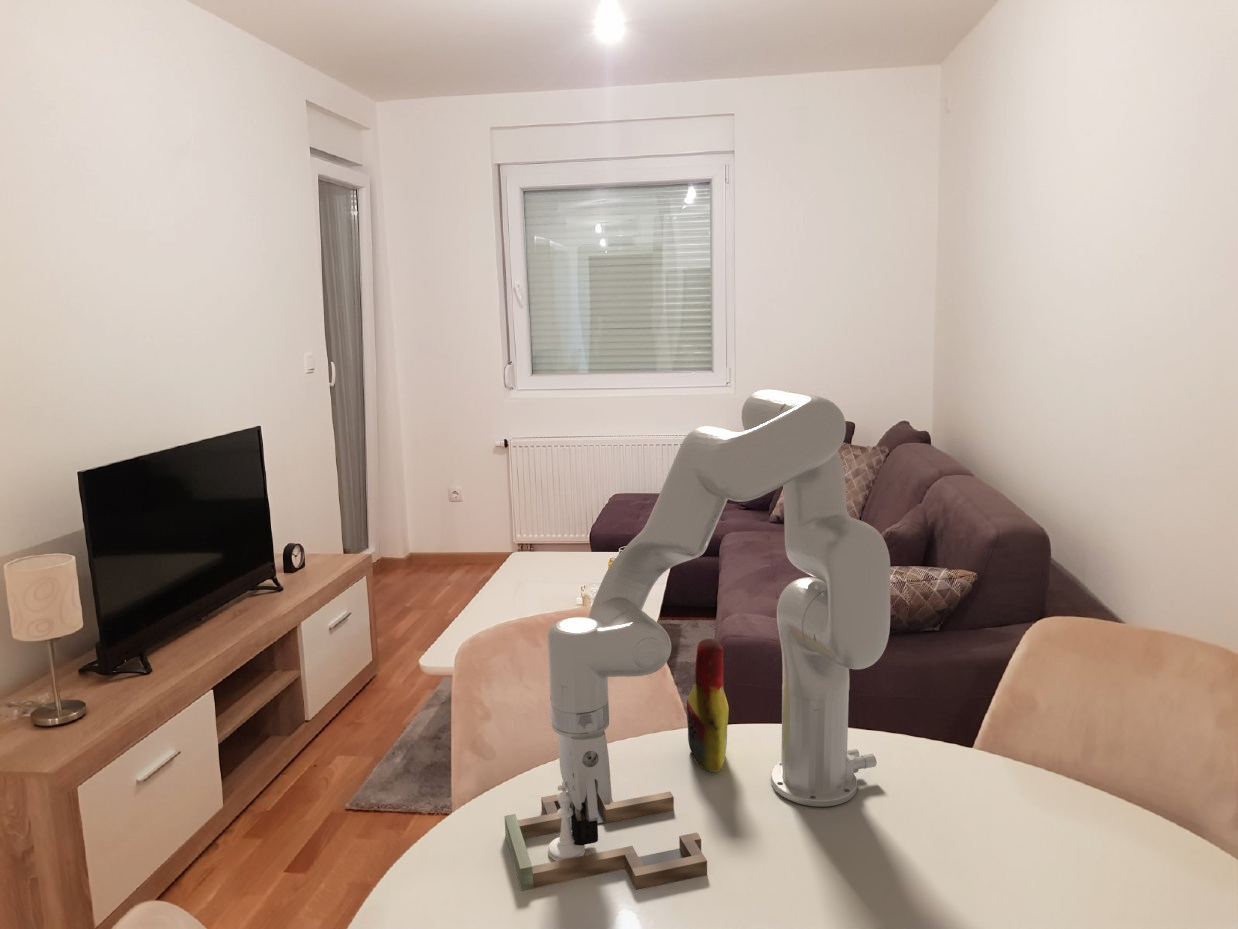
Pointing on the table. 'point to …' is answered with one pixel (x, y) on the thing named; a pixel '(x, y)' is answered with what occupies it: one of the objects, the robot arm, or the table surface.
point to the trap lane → (639, 869)
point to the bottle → (708, 708)
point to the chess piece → (564, 831)
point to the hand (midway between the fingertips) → (585, 840)
